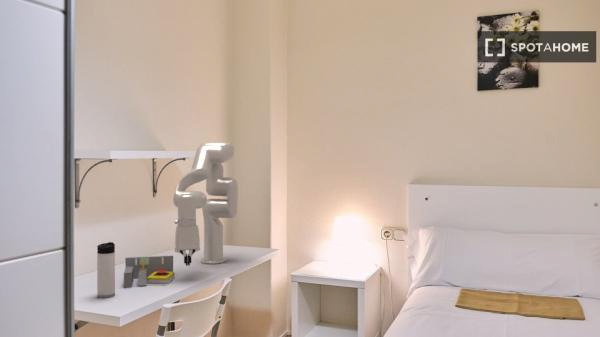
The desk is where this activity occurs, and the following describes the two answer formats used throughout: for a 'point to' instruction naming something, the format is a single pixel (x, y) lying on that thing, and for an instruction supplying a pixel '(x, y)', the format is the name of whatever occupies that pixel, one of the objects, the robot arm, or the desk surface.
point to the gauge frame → (145, 266)
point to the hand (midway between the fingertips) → (187, 264)
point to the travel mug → (106, 270)
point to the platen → (142, 275)
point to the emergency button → (160, 278)
